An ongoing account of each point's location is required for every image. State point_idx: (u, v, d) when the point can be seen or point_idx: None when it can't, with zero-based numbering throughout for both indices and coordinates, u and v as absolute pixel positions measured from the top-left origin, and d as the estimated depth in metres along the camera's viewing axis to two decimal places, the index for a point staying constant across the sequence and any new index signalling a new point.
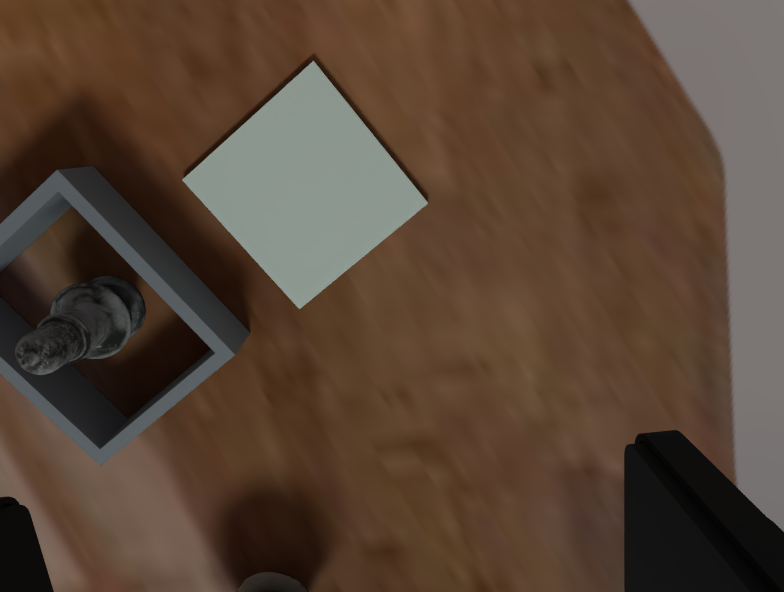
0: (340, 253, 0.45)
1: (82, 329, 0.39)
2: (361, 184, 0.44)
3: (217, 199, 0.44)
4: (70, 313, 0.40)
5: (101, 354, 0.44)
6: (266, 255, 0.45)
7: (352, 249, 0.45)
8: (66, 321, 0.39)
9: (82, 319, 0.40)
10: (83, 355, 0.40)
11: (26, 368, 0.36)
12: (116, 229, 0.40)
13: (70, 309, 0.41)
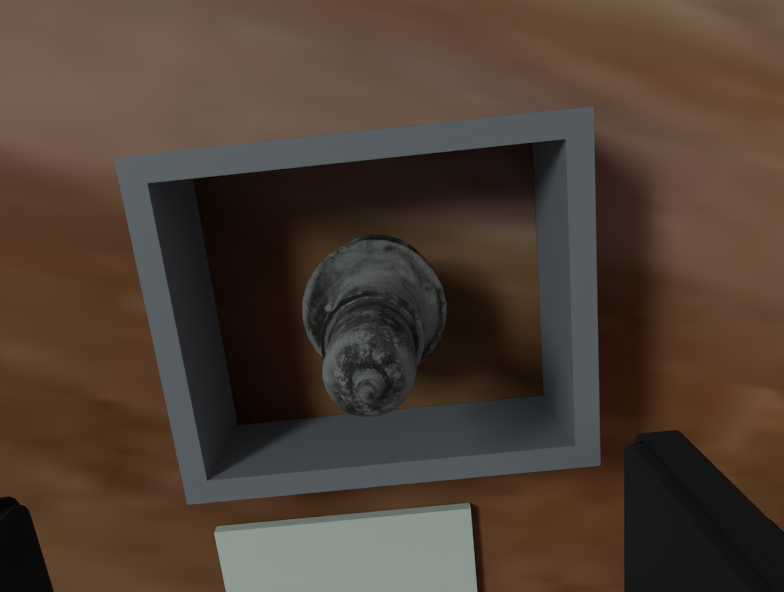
0: None
1: None
2: None
3: (418, 531, 0.30)
4: None
5: (313, 290, 0.23)
6: (310, 540, 0.30)
7: None
8: None
9: None
10: (323, 352, 0.20)
11: (357, 351, 0.17)
12: None
13: None
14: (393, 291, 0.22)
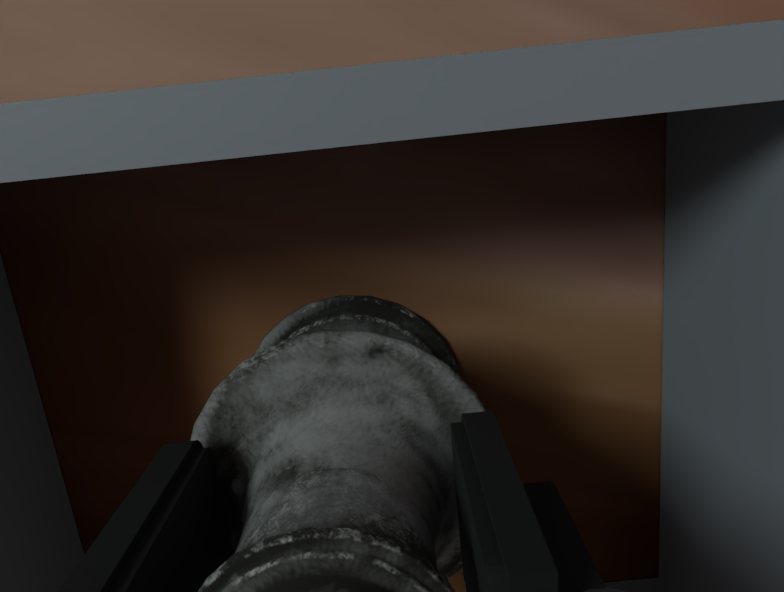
0: None
1: None
2: None
3: None
4: None
5: (208, 441, 0.10)
6: None
7: None
8: None
9: None
10: None
11: None
12: None
13: None
14: (386, 476, 0.09)
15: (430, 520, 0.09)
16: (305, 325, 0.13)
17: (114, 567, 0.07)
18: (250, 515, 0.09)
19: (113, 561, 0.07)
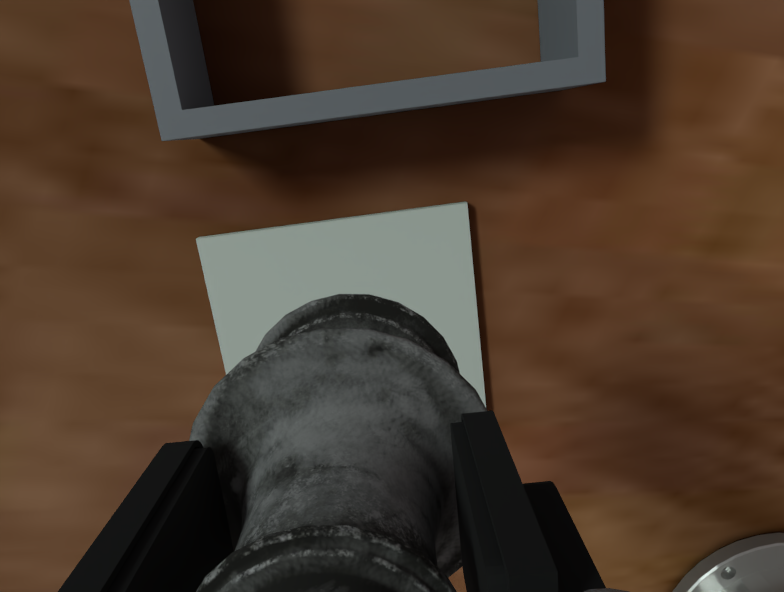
0: (245, 341, 0.29)
1: None
2: None
3: (412, 231, 0.28)
4: None
5: (207, 439, 0.10)
6: (299, 245, 0.28)
7: None
8: None
9: None
10: None
11: None
12: (468, 99, 0.23)
13: None
14: (386, 474, 0.09)
15: (430, 518, 0.09)
16: (305, 323, 0.13)
17: (115, 567, 0.07)
18: (249, 513, 0.09)
19: (114, 561, 0.07)
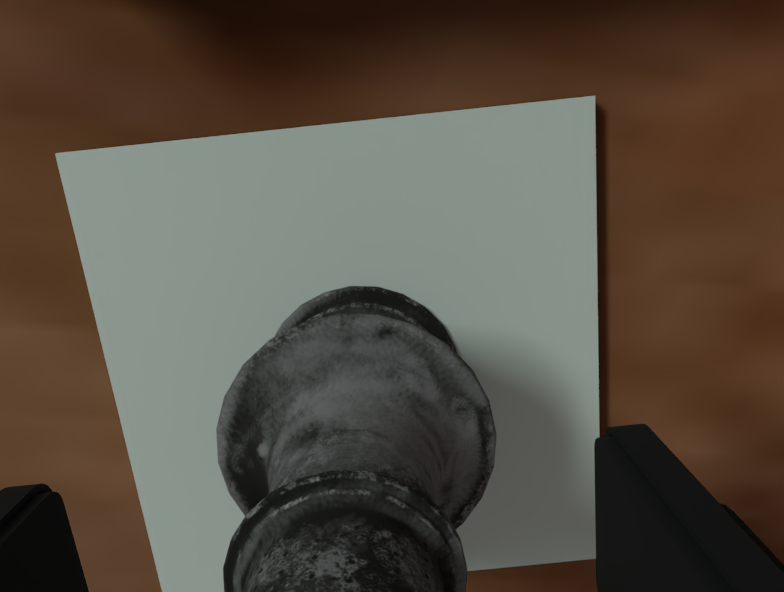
0: (154, 358, 0.15)
1: None
2: None
3: (483, 151, 0.14)
4: None
5: (236, 411, 0.12)
6: (259, 172, 0.14)
7: (149, 390, 0.16)
8: None
9: None
10: None
11: None
12: None
13: None
14: (394, 437, 0.10)
15: (432, 476, 0.10)
16: (319, 312, 0.15)
17: None
18: (277, 470, 0.10)
19: None
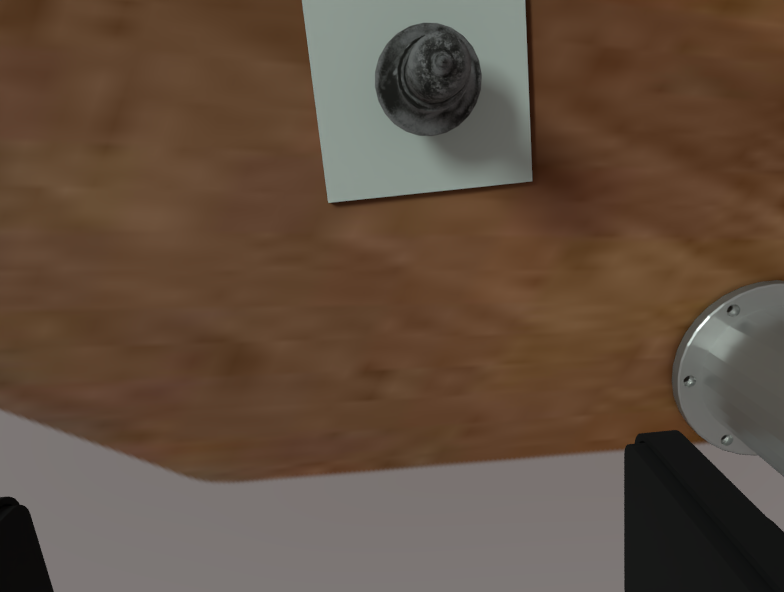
0: (333, 74, 0.35)
1: (428, 107, 0.29)
2: (390, 148, 0.37)
3: None
4: None
5: (384, 61, 0.32)
6: None
7: (329, 90, 0.36)
8: (450, 97, 0.29)
9: None
10: (399, 80, 0.28)
11: (434, 42, 0.25)
12: None
13: None
14: None
15: None
16: None
17: None
18: None
19: None
